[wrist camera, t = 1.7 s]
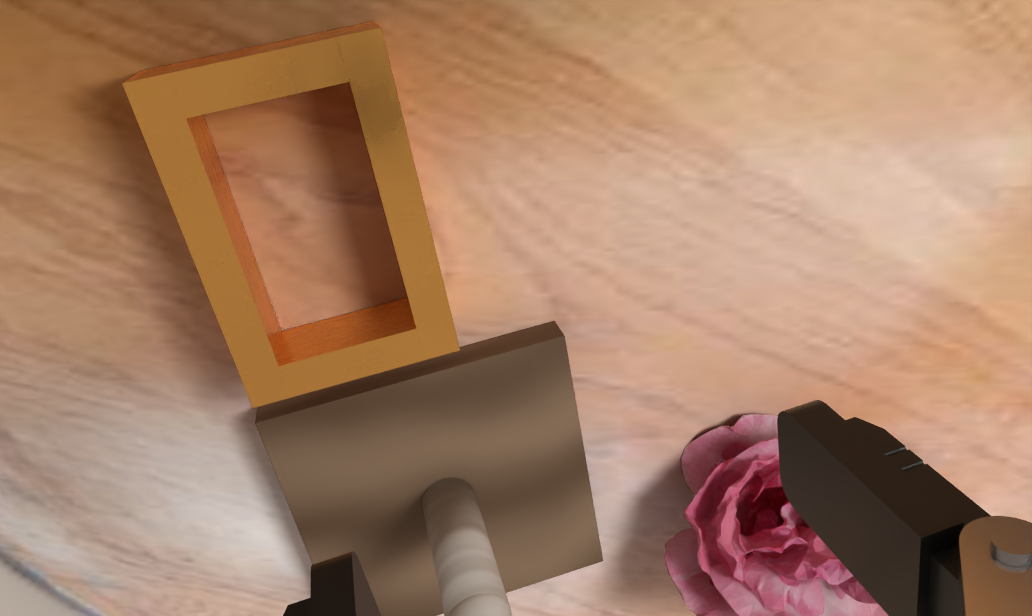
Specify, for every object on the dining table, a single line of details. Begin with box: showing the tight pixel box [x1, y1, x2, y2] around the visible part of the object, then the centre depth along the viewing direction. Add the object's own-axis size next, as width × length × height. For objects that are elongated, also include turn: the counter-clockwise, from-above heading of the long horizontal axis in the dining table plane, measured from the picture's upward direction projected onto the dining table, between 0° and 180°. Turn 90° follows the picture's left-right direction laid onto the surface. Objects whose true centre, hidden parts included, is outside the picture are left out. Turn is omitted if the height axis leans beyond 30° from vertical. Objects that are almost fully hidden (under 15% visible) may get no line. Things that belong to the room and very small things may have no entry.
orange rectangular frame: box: [122, 21, 460, 408], centre depth 28 cm, size 12×8×3 cm, turn 10°
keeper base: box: [255, 321, 603, 616], centre depth 31 cm, size 13×13×10 cm
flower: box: [665, 414, 888, 616], centre depth 37 cm, size 11×10×10 cm
